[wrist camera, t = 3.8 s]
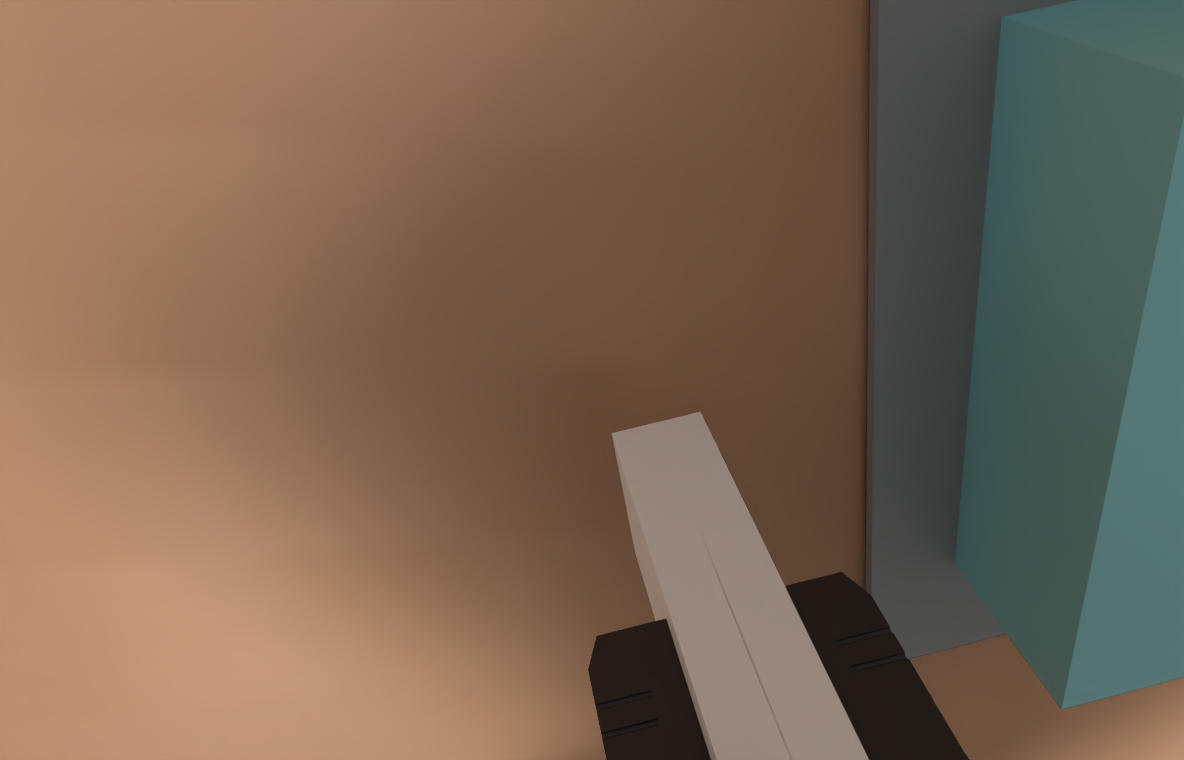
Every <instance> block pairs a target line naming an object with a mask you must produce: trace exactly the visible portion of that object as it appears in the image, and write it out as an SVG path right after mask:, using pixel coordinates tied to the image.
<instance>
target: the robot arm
mask: <svg viewBox="0 0 1184 760" xmlns="http://www.w3.org/2000/svg"><path fill="white" fill-rule="evenodd" d="M612 438H613V443H614V448H615V453H616V459H617V464H618V469H619V474H620V479H621V484H622V489H623V494H624V499H625V504H626V509H627V514H628V519H629V524H630V529H631V534H632V540H633V545H634V550H635V554H636V557H637V561H638V564H639V567H640V570H641V574H642V577H643V580H644V584H645V587H646V590H647V594H648V597H649V600H650V604H651V607H652V610H653V613H654V617H655V620H656V621H654V622H650V623H646V624H642V625H638V626H634V627H630V628H626V629H623V630H619V631H615V632H611V633H607V634H603V635H599V636H597V637H596V641H595V645H594V649H593V653H592V657H591V661H590V665H589V669H588V671H589V676H590V681H591V686H592V691H593V695H594V700H595V705H596V709H597V715H598V720H599V725H600V729H601V734H602V738H603V744H604V749H605V754H606V759H607V760H970V759H969V758H968V757H967V755H966V754H965V753H964V751H963V750H962V748H961V746H960V745H959V743H958V741H957V740H956V738H955V736H954V734H953V733H952V731H951V729H950V728H949V726H948V724H947V723H946V721H945V719H944V717H943V716H942V714H941V712H940V711H939V709H938V707H937V706H936V704H935V702H934V701H933V699H932V697H931V695H930V694H929V692H928V690H927V689H926V687H925V685H924V684H923V682H922V680H921V679H920V677H919V675H918V673H917V672H916V670H915V668H914V667H913V665H912V663H911V662H910V660H909V659H907V658H906V655H905V651H904V650H903V648H902V646H901V645H900V643H899V641H898V640H897V638H896V636H895V634H894V633H892V632H891V630H890V626H889V624H888V623H887V621H886V619H885V618H884V616H883V614H882V612H881V611H880V609H879V607H878V606H877V604H876V602H875V601H874V599H873V597H872V595H870V594H869V593H868V592H866V591H865V590H864V589H863V588H861V587H860V586H859V585H857V584H856V583H855V582H854V581H852V580H851V579H850V578H848V577H847V576H846V575H845V574H843V573H842V572H839V573H836V574H832V575H828V576H824V577H820V578H816V579H812V580H808V581H804V582H800V583H796V584H792V585H788V586H785V585H784V583H783V581H782V579H781V577H780V575H779V573H778V571H777V569H776V567H775V565H774V563H773V561H772V559H771V556H770V554H769V552H768V550H767V548H766V546H765V544H764V542H763V540H762V538H761V536H760V534H759V532H758V530H757V528H756V525H755V523H754V521H753V519H752V517H751V515H750V513H749V511H748V509H747V507H746V505H745V503H744V501H743V499H742V497H741V494H740V492H739V490H738V488H737V486H736V484H735V482H734V480H733V478H732V476H731V474H730V472H729V470H728V468H727V466H726V464H725V461H724V459H723V457H722V455H721V453H720V451H719V449H718V447H717V445H716V443H715V441H714V439H713V437H712V435H711V433H710V430H709V428H708V426H707V424H706V422H705V420H704V418H703V416H702V414H701V412H697V413H693V414H689V415H685V416H680V417H676V418H672V419H668V420H664V421H660V422H656V423H652V424H647V425H643V426H639V427H635V428H631V429H627V430H623V431H618V432H614V433H612Z"/></svg>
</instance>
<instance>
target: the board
mask: <svg viewBox="0 0 1184 760" xmlns="http://www.w3.org/2000/svg"><path fill="white" fill-rule="evenodd" d="M1072 1H1076V0H870V93H869V228H868V363H867V498H866V592H868V593H869V594H870V595H872V597H873V599H874V601H875V602H876V604H877V606H878V607H879V609H880V611H881V612H882V614H883V616H884V618H885V619H886V621H887V623H888V624H889V626H890V630H891V632H892V633H894V634H895V636H896V638H897V640H898V641H899V643H900V645H901V646H902V648H903V650H904V651H905V655H906V658H907V659H911V658H915V657H919V656H923V655H927V654H931V653H935V652H938V651H942V650H946V649H950V648H954V647H958V646H962V645H965V644H969V643H973V642H977V641H981V640H985V639H989V638H992V637H996V636H1000V635H1004V634H1006V633H1005V632H1004V630H1003V629H1002V627H1001V626H1000V625H999V623H998V622H997V621H996V619H995V618H994V616H993V615H992V614H991V612H990V611H989V610H988V608H987V607H986V606H985V604H984V603H983V601H982V600H981V599H980V597H979V596H978V595H977V593H976V592H975V590H974V589H973V588H972V586H971V585H970V584H969V582H968V581H967V580H966V578H965V577H964V575H963V574H962V573H961V571H960V570H959V569H958V567H957V566H956V564H955V557H956V545H957V534H958V522H959V510H960V499H961V487H962V475H963V464H964V452H965V440H966V429H967V417H968V405H969V393H970V382H971V370H972V358H973V347H974V335H975V323H976V312H977V300H978V288H979V277H980V265H981V253H982V242H983V230H984V218H985V207H986V195H987V183H988V171H989V160H990V148H991V136H992V125H993V113H994V101H995V90H996V78H997V66H998V55H999V43H1000V31H1001V20H1002V17H1004V16H1008V15H1013V14H1017V13H1022V12H1026V11H1031V10H1035V9H1040V8H1044V7H1049V6H1053V5H1058V4H1063V3H1067V2H1072Z"/></svg>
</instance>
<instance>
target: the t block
mask: <svg viewBox="0 0 1184 760" xmlns="http://www.w3.org/2000/svg"><path fill="white" fill-rule="evenodd" d="M955 564H956V566H957V567H958V569H959V570H960V571H961V573H962V574H963V575H964V577H965V578H966V580H967V581H968V582H969V584H970V585H971V586H972V588H973V589H974V590H975V592H976V593H977V595H978V596H979V597H980V599H981V600H982V601H983V603H984V604H985V606H986V607H987V608H988V610H989V611H990V612H991V614H992V615H993V616H994V618H995V619H996V621H997V622H998V623H999V625H1000V626H1001V627H1002V629H1003V630H1004V632H1005V633H1006V634H1007V636H1008V637H1009V638H1010V640H1011V641H1012V642H1013V644H1014V645H1015V647H1016V648H1017V649H1018V651H1019V652H1020V653H1021V655H1022V656H1023V657H1024V659H1025V660H1026V662H1027V663H1028V664H1029V666H1030V667H1031V668H1032V670H1033V671H1034V673H1035V674H1036V675H1037V677H1038V678H1039V679H1040V681H1041V682H1042V683H1043V685H1044V686H1045V688H1046V689H1047V690H1048V692H1049V693H1050V694H1051V696H1052V697H1053V699H1054V700H1055V701H1056V703H1057V704H1058V705H1059V707H1060V708H1061V709H1066V708H1069V707H1073V706H1077V705H1081V704H1084V703H1088V702H1092V701H1096V700H1100V699H1103V698H1107V697H1111V696H1115V695H1118V694H1122V693H1126V692H1130V691H1134V690H1137V689H1141V688H1145V687H1149V686H1152V685H1156V684H1160V683H1164V682H1168V681H1171V680H1175V679H1179V678H1183V677H1184V0H1076V1H1072V2H1067V3H1063V4H1058V5H1053V6H1049V7H1044V8H1040V9H1035V10H1031V11H1026V12H1022V13H1017V14H1013V15H1008V16H1004V17H1002V20H1001V31H1000V43H999V55H998V66H997V78H996V90H995V101H994V113H993V125H992V136H991V148H990V160H989V171H988V183H987V195H986V207H985V218H984V230H983V242H982V253H981V265H980V277H979V288H978V300H977V312H976V323H975V335H974V347H973V358H972V370H971V382H970V393H969V405H968V417H967V429H966V440H965V452H964V464H963V475H962V487H961V499H960V510H959V522H958V534H957V545H956V557H955Z"/></svg>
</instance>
